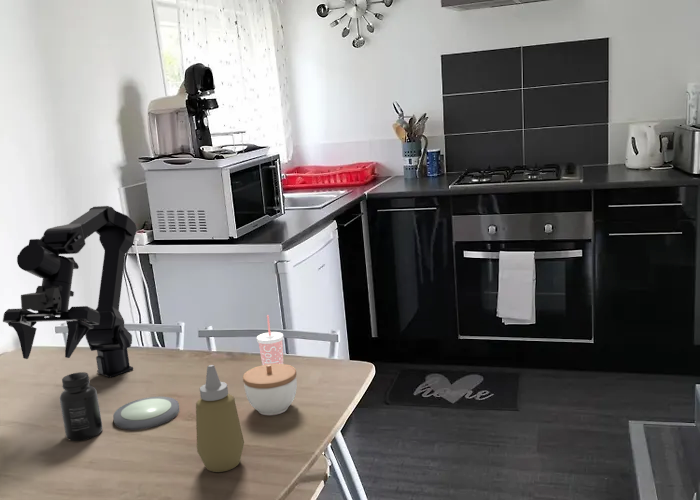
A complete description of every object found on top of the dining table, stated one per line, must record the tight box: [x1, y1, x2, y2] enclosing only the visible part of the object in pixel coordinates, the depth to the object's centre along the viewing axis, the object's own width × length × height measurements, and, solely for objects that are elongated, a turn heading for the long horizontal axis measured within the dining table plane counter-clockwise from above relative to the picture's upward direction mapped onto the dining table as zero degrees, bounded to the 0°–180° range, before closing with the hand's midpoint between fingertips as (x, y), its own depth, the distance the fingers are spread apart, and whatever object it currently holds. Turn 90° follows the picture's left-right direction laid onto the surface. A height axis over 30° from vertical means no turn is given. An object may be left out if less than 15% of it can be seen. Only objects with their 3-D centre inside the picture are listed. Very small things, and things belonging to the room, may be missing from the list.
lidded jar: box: [242, 363, 298, 416], centre depth 138 cm, size 11×11×9 cm
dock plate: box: [112, 396, 180, 431], centre depth 141 cm, size 13×13×1 cm
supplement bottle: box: [59, 371, 103, 442], centre depth 133 cm, size 7×7×12 cm
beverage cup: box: [256, 314, 284, 365], centre depth 157 cm, size 6×6×14 cm
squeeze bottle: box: [195, 364, 245, 473], centre depth 116 cm, size 8×8×18 cm
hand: (46, 358), depth 140 cm, fingers open, 9 cm apart
